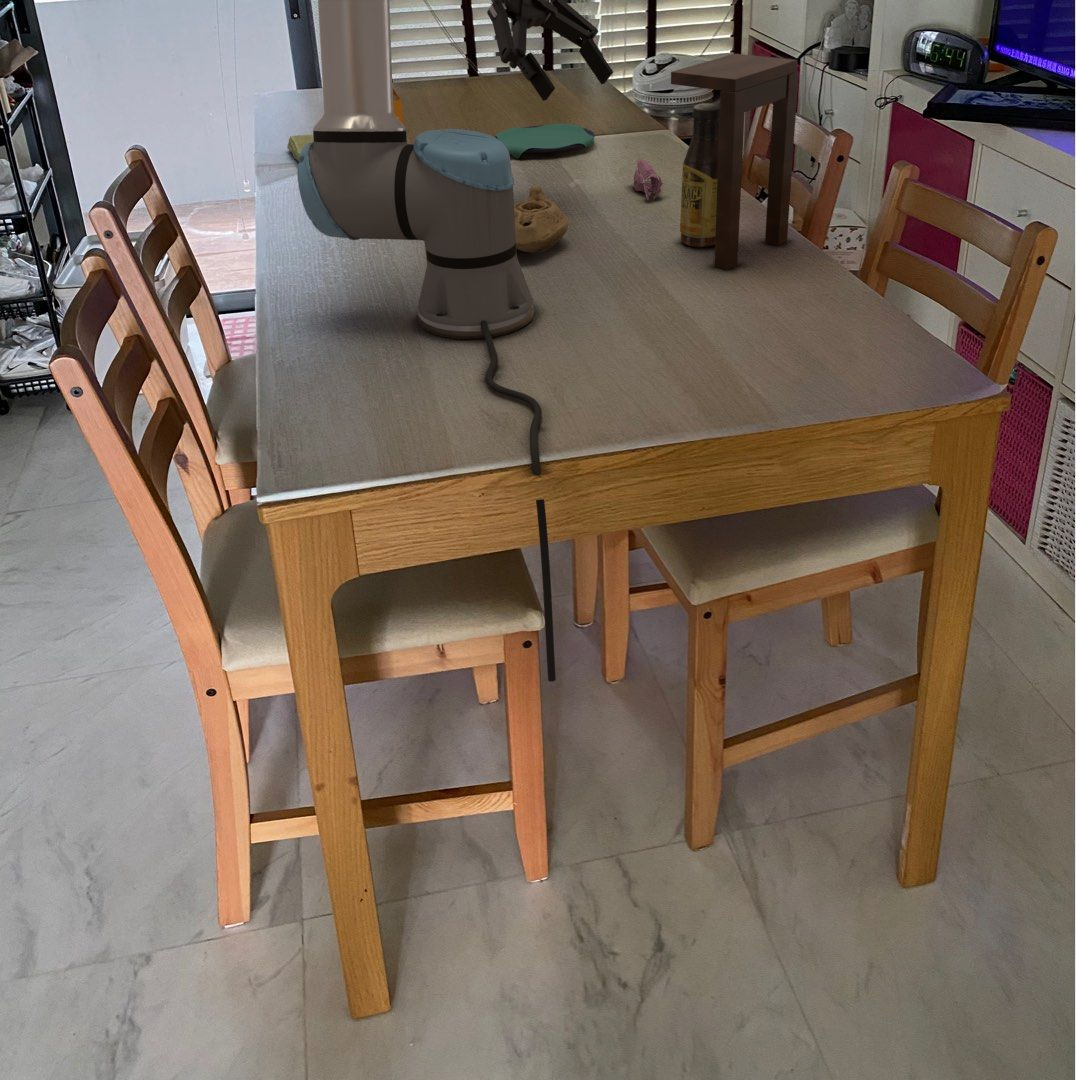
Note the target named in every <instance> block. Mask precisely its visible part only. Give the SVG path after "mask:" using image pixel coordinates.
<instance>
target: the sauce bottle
mask: <svg viewBox="0 0 1076 1080" xmlns="http://www.w3.org/2000/svg"><path fill="white" fill-rule="evenodd" d="M692 118H693V126H692V127H693V128H692V129H693V131H692V137H691V139H690V143H689V145H688V147H687V148H688V149H687V151H686V154H685V157H684V158H683V159H684V160H683V163H682V173H681V174H682V175H681V176H682V178H681V197H680V218H679V219H680V221H679V231H680V241H681V243H682V244H684V245H686V246H689V247H692V248H698V249H699V248H707V247H713V246H715V234H716V205H717V177H718V148H719V120H720V104H717V103H708V102H707V103H698V104H695V105H694V106H693V108H692Z"/></svg>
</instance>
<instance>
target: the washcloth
mask: <svg viewBox="0 0 1076 1080" xmlns="http://www.w3.org/2000/svg"><path fill="white" fill-rule="evenodd" d="M310 142H314V138H313V134H297V135H291V136H289V138H288V143H287V147H286V148H287V149H288V151H289V152H291V153H292V156H293V158H294V159H295V160H296V161H297V162H298V163H300V161H299V155H300V152H301V150H302V149H303V147H304V146H305V145H307V144H309V143H310Z"/></svg>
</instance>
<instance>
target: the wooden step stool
mask: <svg viewBox="0 0 1076 1080" xmlns="http://www.w3.org/2000/svg"><path fill="white" fill-rule="evenodd" d="M799 73H800V72H799V71H798V59H792V58H780V57H773V56H772V57H771V56H762V55H752V54H741V53H731V54H728V55H724V56H720V57H717V58H715V59H711V60H707V61H704V62H699V63H697V64H693V65H690V66H686V67H683V68H680V69H677V70H676V69H675V70H673V71H670V85H674V86H683V87H691V88H699V89H706V90H715V91H720V94H719V95H720V96H719V105H720V120H719V148H718V177H717V205H716V234H715V245H714V261H713V263H714V264H713V266H714V268H718V269H721V270H726V271H729V270H731V269H733V268H736V267H737V266H738V263H739V240H740V219H741V218H740V217H741V199H742V177H743V175H742V174H743V154H744V135H745V133H744V131H745V113H747V112H749V111H752V110H756V109H759V108H760V107H764V106H767V105H769V104H772V115H771V130H770V131H771V132H770V149H769V165H768V166H769V167H768V181H767V182H768V183H767V185H768V186H767V197H766V198H767V201H766V219H765V236H764V237H765V238H764V243H765V244H769V245H773V246H781V245H783V244H784V243H787V242H788V234H789V219H790V218H789V217H790V204H791V188H792V175H793V173H792V172H793V160H794V146H795V145H794V144H795V132H796V130H795V129H796V115H797V103H798V101H797V100H798V89H799Z"/></svg>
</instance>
